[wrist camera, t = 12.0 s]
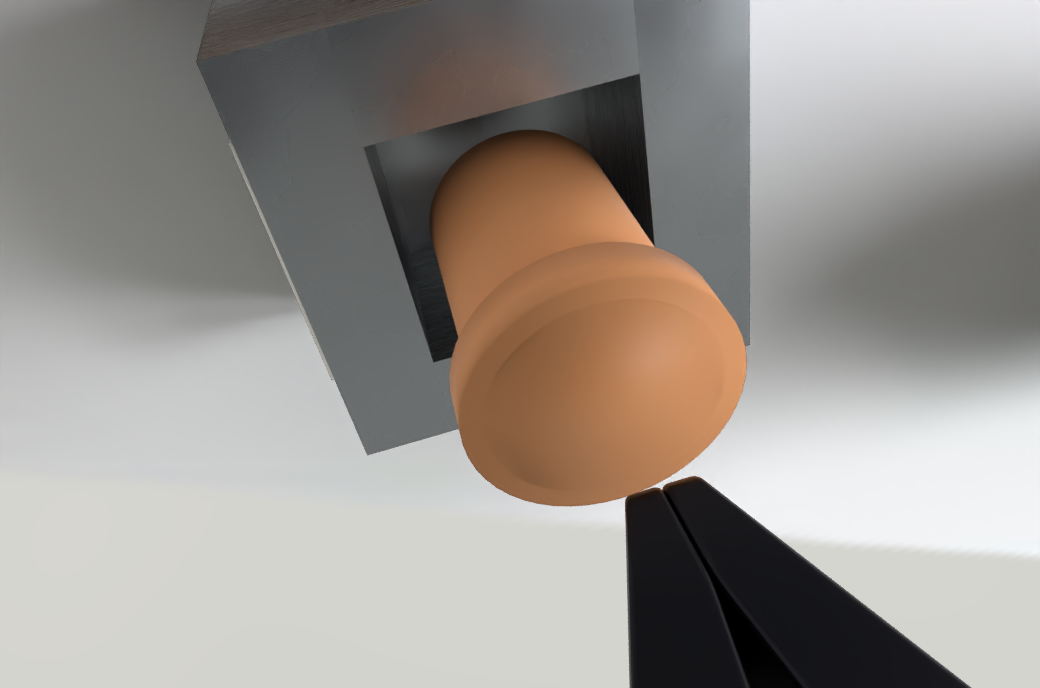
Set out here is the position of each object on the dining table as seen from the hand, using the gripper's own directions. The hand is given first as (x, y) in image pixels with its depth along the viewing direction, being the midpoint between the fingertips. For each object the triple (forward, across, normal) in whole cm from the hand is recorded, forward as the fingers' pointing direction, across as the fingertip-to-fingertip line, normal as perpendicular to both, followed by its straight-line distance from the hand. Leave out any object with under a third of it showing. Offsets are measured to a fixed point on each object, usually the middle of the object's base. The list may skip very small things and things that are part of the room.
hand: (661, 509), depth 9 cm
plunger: (+7, 0, 0) cm, 7 cm away
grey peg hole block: (+12, 0, 0) cm, 12 cm away
